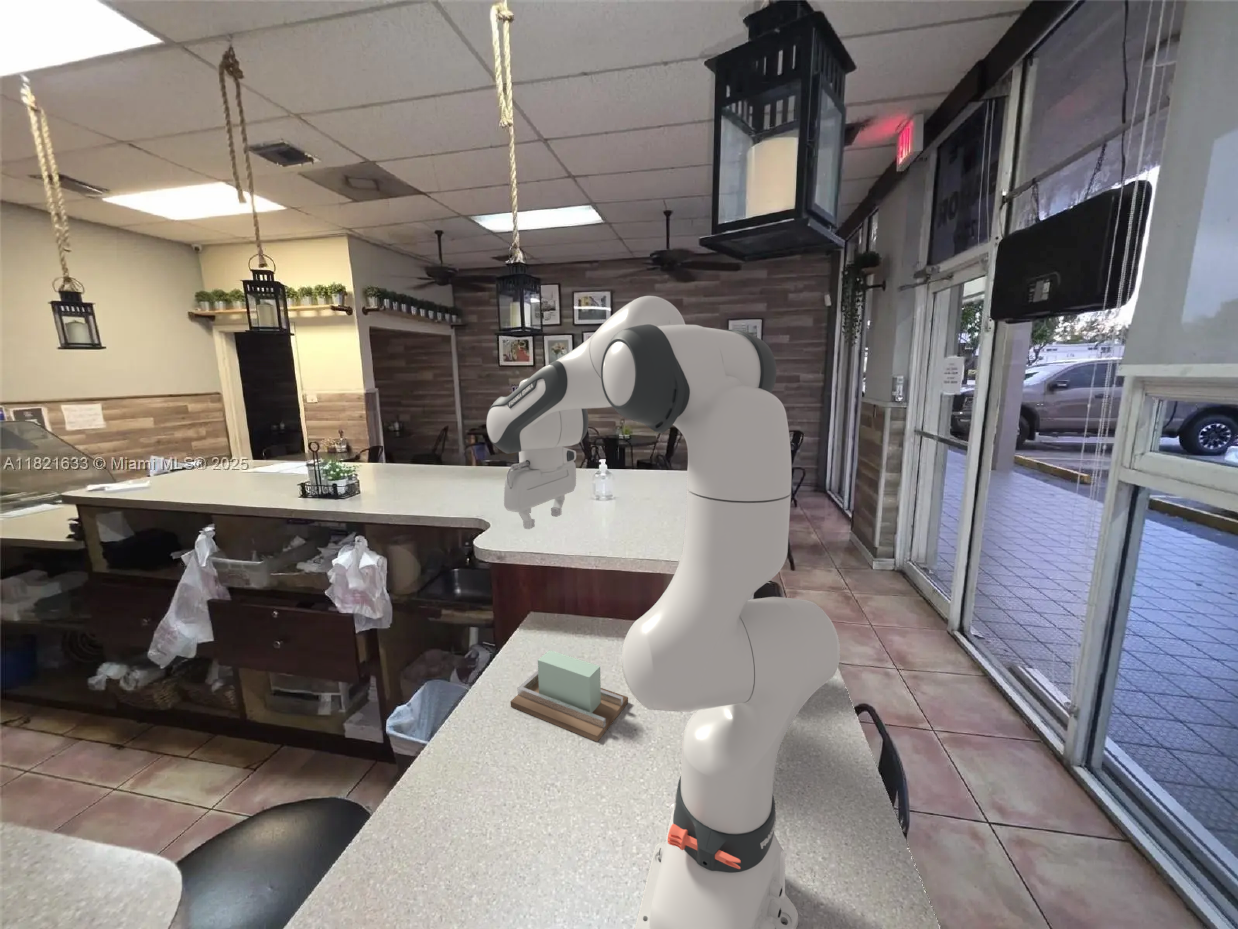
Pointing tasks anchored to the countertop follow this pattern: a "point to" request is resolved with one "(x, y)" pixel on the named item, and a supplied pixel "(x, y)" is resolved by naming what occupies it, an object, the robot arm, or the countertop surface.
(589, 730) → the track board
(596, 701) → the mint green rectangular block
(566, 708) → the track rails
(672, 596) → the robot arm
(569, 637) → the countertop surface
